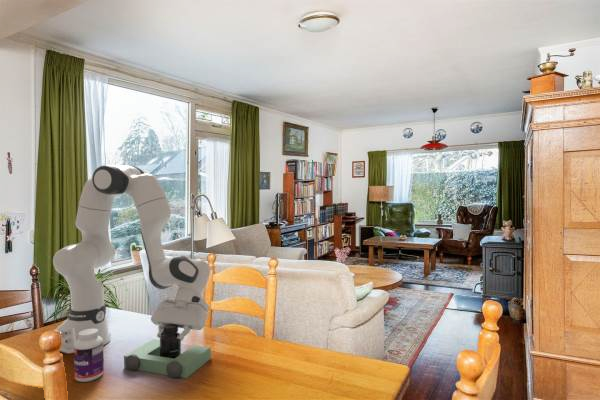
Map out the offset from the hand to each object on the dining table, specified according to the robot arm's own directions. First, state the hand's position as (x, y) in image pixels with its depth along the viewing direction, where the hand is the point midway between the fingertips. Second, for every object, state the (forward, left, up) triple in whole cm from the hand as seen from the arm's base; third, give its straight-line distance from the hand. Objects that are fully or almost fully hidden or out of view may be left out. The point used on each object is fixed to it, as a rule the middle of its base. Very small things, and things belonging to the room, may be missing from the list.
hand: (169, 338), depth 128 cm
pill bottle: (-18, -16, -8) cm, 25 cm away
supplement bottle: (0, 0, -8) cm, 8 cm away
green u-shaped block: (0, -1, -8) cm, 8 cm away
